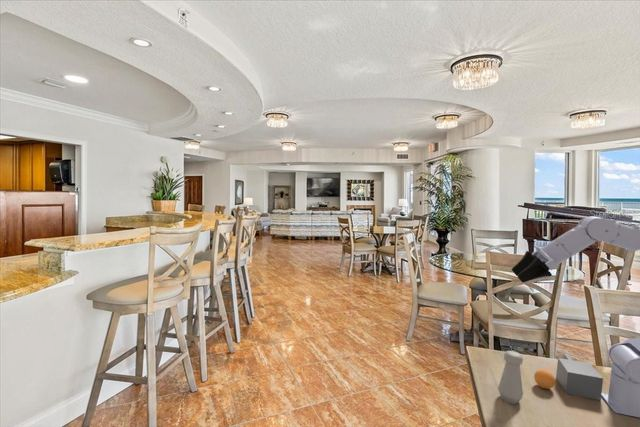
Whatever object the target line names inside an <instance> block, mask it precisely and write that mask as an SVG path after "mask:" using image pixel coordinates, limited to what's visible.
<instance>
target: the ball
mask: <svg viewBox="0 0 640 427" xmlns="http://www.w3.org/2000/svg"><path fill="white" fill-rule="evenodd" d="M533 378H534V381H535V383H536V384H537V385H538V387H540V388H542V389H546V390H549V389H552V388H554V386H555V384H556V377H555V376H554V374H553V373H552V372H551V371H549V370H547V369H543V368H542V369H538V370H536V371H535V373H534V376H533Z"/></svg>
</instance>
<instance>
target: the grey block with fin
mask: <svg viewBox="0 0 640 427" xmlns="http://www.w3.org/2000/svg"><path fill="white" fill-rule="evenodd" d="M556 367H557V368H556V377H555V380H557V382H558V383H559V385H560V387H561V388H562V389H563V391H564V393H565V394H568V395H573V396H577V397H582V398H587V399H592V400H598V401H601V400H602V396H601V393H603V392H602V391H603V384H604V378H603V376H602V374H600V373H599V372H598V371H597V369H596V368H594V366H593V365H592V364H591V363H589V362H584V361H578V360H574V359H573V358H572V357H571V355H570V354H568V353H563V358H559V357H558V358H557V365H556Z"/></svg>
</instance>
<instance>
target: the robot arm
mask: <svg viewBox="0 0 640 427" xmlns="http://www.w3.org/2000/svg"><path fill="white" fill-rule="evenodd" d="M596 242H603V243H605V244H609V245H611V246H615V247H618V248H621V249H624V250H627V251H630V252H637V251H640V226H638V225H636V224H631V225H626V224H623V223H619V222H617V220H616V219H613V218H604V217H599V216H593V215H592V216H587V217H585V218H584V217H582V218H581V219H580V220H579V221H578V223H577V225H576V226H575V227H573V228H572V229H569V230H568V231H566V232H564V233H563V234H561V235H559V236H558V237H557V238H555V239H553V240H551V241H550V242H549V243H547V244H545V245H544V246H542V247H539V246H538V245H535V246H534V248H535V251H533V252H532V253H531V252H530V251H529V250H526V251H525V253H524V255H523V256H522V258H521V259H520V260H519V261H518V262H517V263H516V264H515V265H514V266H513V267H512V268H511V271H512V272H513V274H514V275H515V276H516V277H517V278H518V279H519V281H521V283H526V282H529V281H532V280H535V279H536V280H537V279H538V278H539V279H540V278H546V277H552V276H553V274H552V273H551V272H550V271H553V270H554V269H556V268H558V267H559V265H560V264H561V263H563V262H564V261H566V260H568V259H570V258H571V257H573V256H575V255H577V254H578V253H579V252H582V251H583V250H585V249H588V247H589V246H591V245H592V244H595V243H596ZM607 352H608V354H607V355H608V357H609V359H610V361H612V366H611V369H610V377H609V378H610V379H609V387H608V393H604V392H602V393H601V398H602V399H604V400H605V402H606V403H607V405H608V406H609V407H610V409H611V410H612V411H613V412H614V413H615V414H621V415H625V416H629V417H630V416H631V417H636V418H640V337H633V338H632V337H631V338H627V339H626V340H624V341H622V342H618V343H615V344H612V345H611V346H610V347H609V349H608V351H607Z"/></svg>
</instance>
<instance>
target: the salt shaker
mask: <svg viewBox="0 0 640 427" xmlns="http://www.w3.org/2000/svg"><path fill="white" fill-rule="evenodd" d="M503 360H504V361H505V364H504V368H503V370H502V371H503V372H502V375H501V377H500V381H499V383H498V387H497V389H498V392H499V394H500V398H501V400H503V401H504V402H506V403H507V404H510V405H517V404H518V403H519V402H520V401H521V400H522V399H523V397H524V396H523V394H524V390H523V381H522V373H521V365H522V364H523V361H524V358H523V356H522V354H521V353H519V352H517V351H513V350H507V351H505V352H504V355H503Z"/></svg>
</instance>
